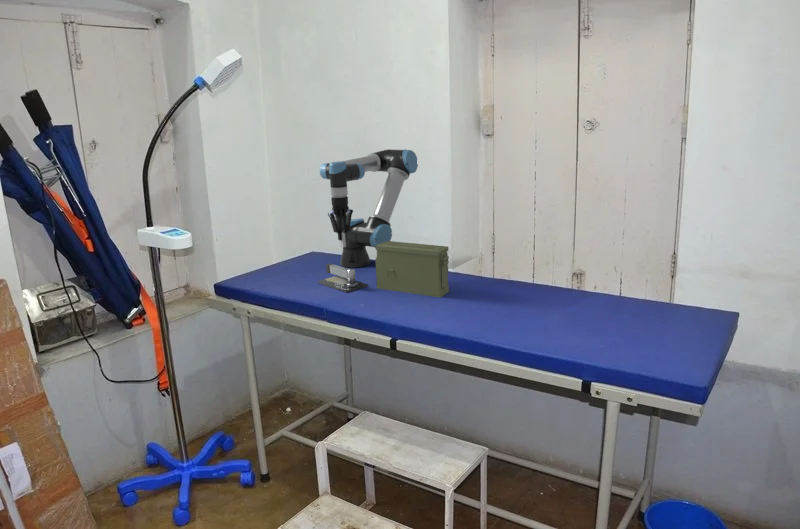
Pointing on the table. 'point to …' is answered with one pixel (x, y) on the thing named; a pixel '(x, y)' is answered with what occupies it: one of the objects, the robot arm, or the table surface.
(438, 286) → the ammunition box
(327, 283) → the plate
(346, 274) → the grey long bar
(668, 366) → the table surface
